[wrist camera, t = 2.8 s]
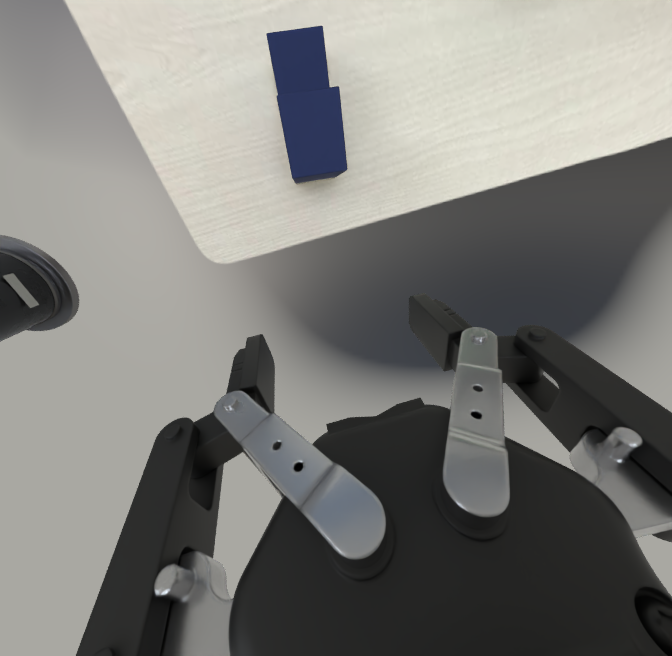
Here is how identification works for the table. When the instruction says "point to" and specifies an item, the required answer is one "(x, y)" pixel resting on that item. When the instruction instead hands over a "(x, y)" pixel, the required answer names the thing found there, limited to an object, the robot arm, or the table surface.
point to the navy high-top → (308, 105)
